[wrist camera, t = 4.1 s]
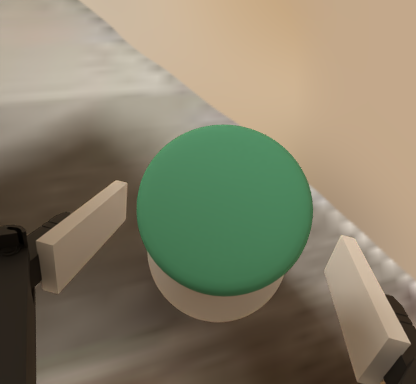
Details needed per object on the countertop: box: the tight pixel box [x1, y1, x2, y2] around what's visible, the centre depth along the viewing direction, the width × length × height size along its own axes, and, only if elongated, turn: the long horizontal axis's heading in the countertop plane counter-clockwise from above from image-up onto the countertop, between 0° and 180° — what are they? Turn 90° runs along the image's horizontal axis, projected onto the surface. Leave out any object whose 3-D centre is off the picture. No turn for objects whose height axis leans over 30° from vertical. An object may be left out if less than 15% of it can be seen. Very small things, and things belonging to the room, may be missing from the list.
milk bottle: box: [137, 125, 313, 322], centre depth 16 cm, size 8×8×20 cm
